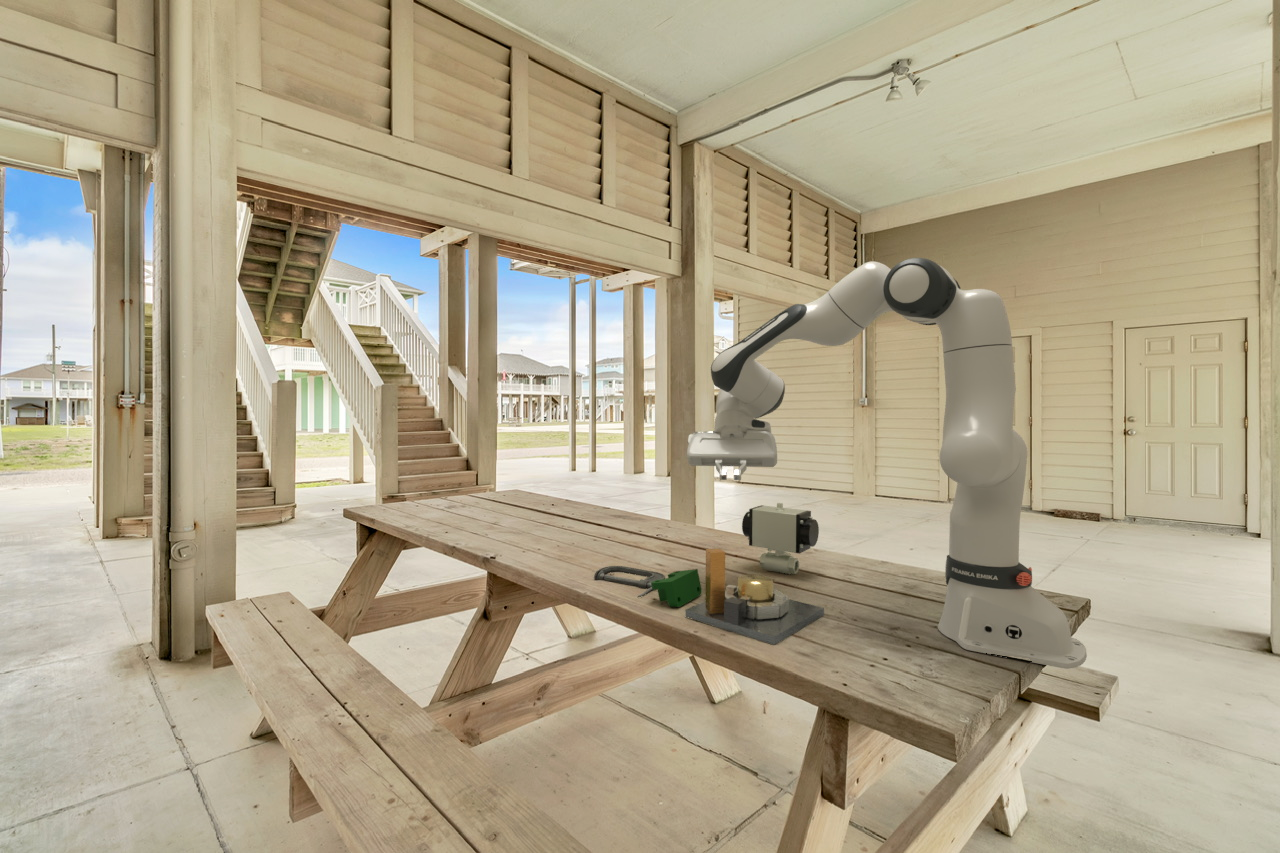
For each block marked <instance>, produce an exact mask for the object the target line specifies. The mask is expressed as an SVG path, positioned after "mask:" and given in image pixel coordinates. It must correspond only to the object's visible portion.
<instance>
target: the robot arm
mask: <svg viewBox="0 0 1280 853" xmlns="http://www.w3.org/2000/svg"><path fill="white" fill-rule="evenodd" d="M889 312H895V313H897V314H899V315H900V316H902V317H903V318H904V319H906V320H907V321H910V322H913V323H917V324H920V325H923V326H934V325H937V327H938V329H939V331H940V333H941V340H942V352H943V354H942V355H943V367H944V379H945V381H944V382H945V408H944V415H943V416H944V417H943V427H942V429H943V430H942V443H941V447H940V451H939V456H938V457H939V464H940V466H941V469H942V471H943V473H944V474H945V475H947V477H948V478H949V479H950V480H952V481H953V482H956V483H957V484H956V489H955V495H954V499H953V504H952V507H951V509H950V514H949V539H948V540H949V541H948V542H949V544H948V545H949V547H948V551H949V552H948V554H947V555H946V561H945V566H944V568H945V569H944V570H945V571H944V574H945V583H946V584H945V585H947V586H946V593H945V601H944V605H943V610H942V612H941V617H940V619H939V623H938V624H937V629H938V630H939V632H940V633H941V634H943V635H944V636H945V637H946V638H949V639H951V640H952V641H955V642H956V643H957V644H958V645H959V646H960V647H961V648H962V649H965V650H967V651H972V652H976V653H977V652H978V653H981V654H986V653H987V654H986V655H991V654H997V655H1005V656H1014V657H1022V658H1029V659H1030V660H1032V662H1031V663H1034V664H1040V665H1045V666H1049V667H1055V668H1060V669H1065V670H1067V669H1075V668H1078V667H1080V666H1082V665H1083V664H1084V663H1085V662H1086V660H1087V656H1088V655H1087V647H1086V646H1085V645H1084V643H1083V642H1081V641H1080V640H1079V639H1077V638H1074V637H1072V635H1071V629H1070V624H1069V622H1068V618H1067V616H1066V614H1065V612H1064V611H1063V610H1062V609H1060V607H1058V606H1057V605H1055V604H1054V603H1053V602H1051V601H1050V600H1049V599H1048V598H1046V596H1044V595H1043V594H1041V593H1040V592H1039V591H1037V589H1035V588H1034V587H1032V584H1033V570H1032V567H1031V566H1029V567H1027V566H1025V565H1024V564H1022V563H1020V559H1019V556H1020V553H1019V551H1020V521H1021V513H1022V506H1023V500H1024V494H1025V493H1024V491H1025V484H1026V474H1027V473H1026V472H1027V462H1028V460H1027V459H1028V446H1027V444H1026V442H1025V440H1024V439H1023V437H1022V436H1021V435H1020V434H1019V433H1018V432H1017V431H1016V430H1014V427H1013V426H1014V424H1013V423H1014V404H1015V395H1016V392H1017V391H1016V390H1017V388H1016V376H1015V361H1014V352H1013V348H1014V347H1013V339H1012V332H1011V326H1010V322H1009V317H1008V313H1007V310H1006V307H1005V304H1004V301H1003V299H1002V297H1001V296H1000V295H999V294H998V293H997V292H995V291H993V290H990V289H987V288H974V289H967V290H965V289H961V286H960V284H959V283H958V281H957V280H956V278H954V277H953V275H952V273H950V272H949V271H948V270H947V269H946V268H945V267H943V266H941V265H940V264H938V263H936V262H935V261H933V260H932V259H929V258H923V257H912V258H911V257H910V258H908V259H905V260H902V261H900V262H898V263H897V264H895V265H894V266H893V267H892V268H890V267H889V266H887V265H886V264H884V263H882V262H879V261H874V260H873V261H871V260H870V261H867V262H863V264H862V265H859V266H858V267H856V268H855V269H854V270H852V271H850V273H848V274H847V275H845V276H844V277H843V278H841V280H839V281H838V282H837V283H835V285H834V286H832V287H831V288H830V289H829V290H828V291H826V292H825V293H824V294H823V295H822V296H821V297H819V298H817V299H814V300H813V301H811V302H807V303H804V304H801V303H795V304H792V305H791V306H789V307H788V308H786V309H784V310H782V311H780V312H779V313H778V314H776V315H775V316H773V317H772V318H771V319H769V320H768V321H767V322H765V323H763V324H762V325H761V326H759V328H757V329H756V330H754V331H753V332H752V333H750V334H749V335H747V336H746V337H744V338H743V339H741V340H740V341H739V342H737V343H735V344H734V345H731V346H729V347H727V348H725V349H724V350H722V351H721V352H720V353H719V354H718V355H717V356H716V357H715V358H714V359H713V361H712V363H711V367H710V375H711V381H712V383H713V385H714V387H716V388H718V389H719V390H718V394H717V398H716V404H715V411H716V415H715V417H714V418H715V419H714V426H713V431H712V430H706V431H701V430H700V431H699V430H698V431H697V430H696V431H694V432H692V433H690V434H689V435H688V437H687V450H686V461H687V463H688V464H689V465H690V466H693V467H694V466H695V467H699V466H700V467H715V470H716V471H717V473H718V474H719V480H720V481H727V480H728V479H727V477H728V474H727V472H728V471H727V469H723V467H739V468H738V469H734V472H733V480H734V481H741V480H742V476H743V474H744V473H745V472H746V471H747V467H748V468H749V467H750V468H756V467H757V468H773V467H775V466H777V464H778V447H777V442H776V439H775V435H774V434H773V433H772V426H771V424H770V422H768V421H764V420H759V418H762V417H765V416H767V415H769V414H771V413H773V412H774V411H776V410H777V409H778V408H779V407H780V406H781V405H782V403H783V400H784V397H785V392H786V385H785V381H784V380H783V378H781V377H780V376H778V375H777V374H776V373H775V372H773V371H772V370H771V369H769V368H767V367H766V366H764V365H763V364H761V363H760V362H759V361H758V360H756V359H757V358H759V357H760V356H762V355H763V354H764V353H766V352H768V351H769V350H771V349H772V348H773V347H775V346H776V345H777V344H778V343H780V342H782V341H783V342H784V341H786V340H799V341H800V340H801V341H806V342H811V343H814V344H817V345H821V346H827V347H837V346H842V345H845V344H847V343H849V342H851V341H852V340H854V339H855V338H856V337H858V335H860V334H861V333H863V331H865V329H866V328H868V327H869V326H870V325H871V324H872V323H873V322H875V320H877V319H878V318H879V317H880V316H882V315H884V314H886V313H889ZM997 655H996V656H997Z"/></svg>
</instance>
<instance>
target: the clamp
mask: <svg viewBox="0 0 1280 853" xmlns="http://www.w3.org/2000/svg"><path fill="white" fill-rule="evenodd" d="M651 585H652V589H653V590H652V591H655V590H656V591H657V593H658V599H659V602H667V605H668V606H669V607H670V608H679V607H682V606H684V605H686V604H688V603H689V602H691V601H693V600H694V599H696V598H698V597H700V596H701V595H702V590H703V588H702V584H701V581H700V576H699V571H698V568H695V569H694V568H693V569H685V570H677V571H673V572H670V573H669V574H667V578H666V577H665V579H661V580H655V581H653V582H651Z"/></svg>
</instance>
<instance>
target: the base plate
mask: <svg viewBox="0 0 1280 853" xmlns="http://www.w3.org/2000/svg"><path fill="white" fill-rule="evenodd" d="M737 587H738V598H735V597H731V598H729V599H727V600H725V601H724V613H712V614H710V613H709V612H708V610H707V609H706V600H705V601H703V602H702V603H701V602H700V603H698V604H696V605H694V606H692V607H689V608H687V609H685V612H684V613H685V614H684V615H685V616H686V617H689V618H688V619H690V618H692V619H691V620H693V619H695V620H694V621H696V620H698V621H697V622H699V621H701V622H700V623H702V622H704V623H703V624H705V623H707V624H706V625H709V624H710V626H712V625H713V627H715V628H719V629H720V630H721V629H722V630H725V631H729V632H731V633H735V634H737V635H741V636H743V637H747V638H751V639H753V640H757V641H759V642H763V643H767V644H769V645H773V646H776V645H778V643H780V642H782V641H783V640H786V639H787V638H789V637H790V636H792V635H794V634H795V633H797V632H798V631H800V630H802V629H804V628H805V627H807V626H809V625H810V624H812V623H813V622H815V621H817V620H818V619H820V618H822V617H823V616H825V607H822V606H817V605H814V604H811V603H806V602H801V601H798V600H794V599H790V598H789V610H788V611H787V612H786V613H785V614H784V615H783V616H782V617H780V616H779V618H767V619H757V618H754V619H751V618H747V617H746V600H744V599H739V598H741V597H742V596H746V597H751V602H752V603H765V602H773V589H774V580H773V578H771V576H770V577H769V576H766V575H763V574H753V573H751V574H744V575H743V574H742V575H740V576H738V577H737ZM686 617H685V618H686Z"/></svg>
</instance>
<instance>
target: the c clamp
mask: <svg viewBox="0 0 1280 853" xmlns="http://www.w3.org/2000/svg"><path fill="white" fill-rule="evenodd" d="M610 572H611V573H623V572H624V574H629V573H630V574H629V575H635V574H636V576H640V577H641V576H642V577H646V576H647V577H646V578H644V579H642V578H641V579H640V580H637V579H632V578H626V577H621V576H615V575H610V574H609V573H610ZM593 578H594V580H595V581H607V582H612V581H613V582H612V583H618V584H622V583H623V584H624V585H628V586H634V587H638V589H645V591H643V592H641V593H640V594H638V596H637V598H638V597H641V596H643V597H644V596H646V595H647V594H648V592H649V593H650V592H651V591H654V590H653V589H652V585H651V582H653V581H655V580H661V579H666V575H664V574H663V573H661V572H658V571H657V572H656V571H652V570H646V569H642V568H641V569H640V568H636V567H635V568H634V567H629V566H624V565H609V566H604V567H602V568H599V569H597V570H596V572H594V577H593ZM623 584H622V585H623ZM646 588H647V590H646ZM645 594H646V595H645ZM641 598H642V597H641Z"/></svg>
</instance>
